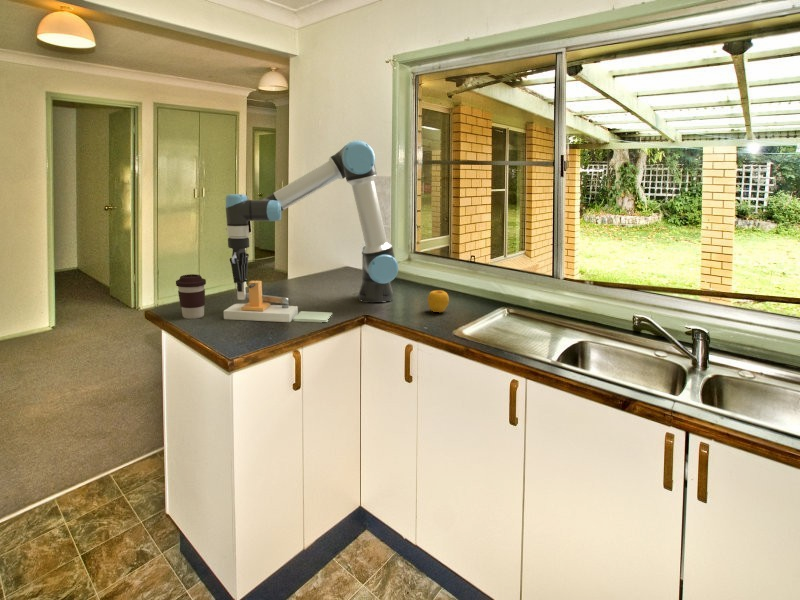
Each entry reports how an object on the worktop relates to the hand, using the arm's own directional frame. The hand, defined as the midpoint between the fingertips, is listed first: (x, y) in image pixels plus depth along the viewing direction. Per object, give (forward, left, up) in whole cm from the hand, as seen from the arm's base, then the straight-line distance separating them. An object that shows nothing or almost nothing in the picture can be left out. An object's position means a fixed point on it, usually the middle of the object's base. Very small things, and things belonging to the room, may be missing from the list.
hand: (241, 299), depth 190 cm
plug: (-8, +6, -5) cm, 11 cm away
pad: (-29, +5, -5) cm, 30 cm away
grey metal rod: (-9, +1, 0) cm, 9 cm away
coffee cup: (+14, +10, -5) cm, 18 cm away
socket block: (-10, +6, -5) cm, 12 cm away
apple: (-74, -11, -5) cm, 75 cm away
